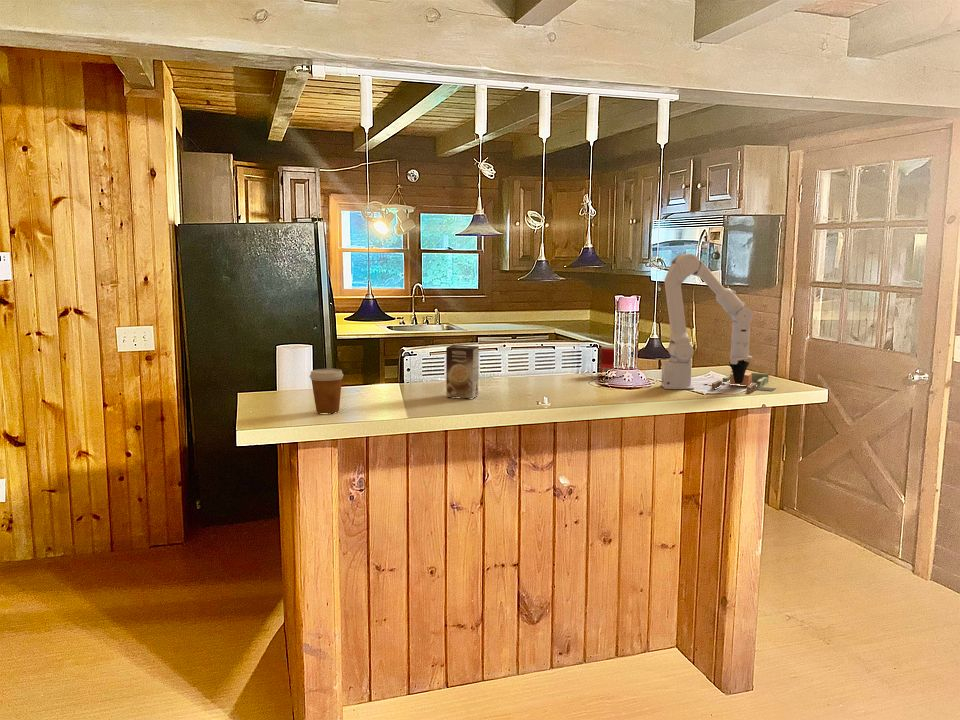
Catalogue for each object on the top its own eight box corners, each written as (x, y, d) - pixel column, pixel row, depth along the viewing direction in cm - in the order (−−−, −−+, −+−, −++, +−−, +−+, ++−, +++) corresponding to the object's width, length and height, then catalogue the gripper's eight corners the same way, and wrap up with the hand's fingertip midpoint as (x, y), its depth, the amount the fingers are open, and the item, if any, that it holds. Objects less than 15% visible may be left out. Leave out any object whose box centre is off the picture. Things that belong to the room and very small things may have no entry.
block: (748, 387, 255) (748, 375, 254) (729, 385, 258) (730, 374, 257) (751, 384, 260) (752, 372, 259) (733, 383, 263) (733, 371, 262)
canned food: (624, 378, 274) (625, 347, 272) (602, 378, 274) (602, 347, 273) (621, 374, 282) (621, 344, 280) (599, 374, 282) (599, 344, 280)
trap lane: (750, 393, 244) (750, 384, 244) (711, 389, 251) (711, 380, 250) (768, 382, 264) (768, 373, 263) (731, 379, 271) (732, 370, 270)
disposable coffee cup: (346, 408, 224) (345, 368, 222) (342, 415, 214) (341, 373, 213) (313, 409, 224) (312, 368, 222) (308, 416, 214) (306, 373, 212)
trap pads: (772, 391, 247) (772, 390, 247) (703, 384, 260) (703, 384, 260) (775, 388, 252) (775, 388, 252) (707, 382, 264) (707, 382, 264)
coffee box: (445, 398, 239) (444, 347, 236) (452, 394, 245) (451, 344, 242) (473, 399, 236) (472, 348, 234) (479, 396, 242) (479, 345, 240)
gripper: (746, 345, 244) (744, 387, 246) (758, 341, 256) (756, 380, 258) (724, 344, 248) (722, 385, 250) (736, 339, 260) (735, 379, 262)
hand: (738, 383), depth 255 cm, fingers closed
